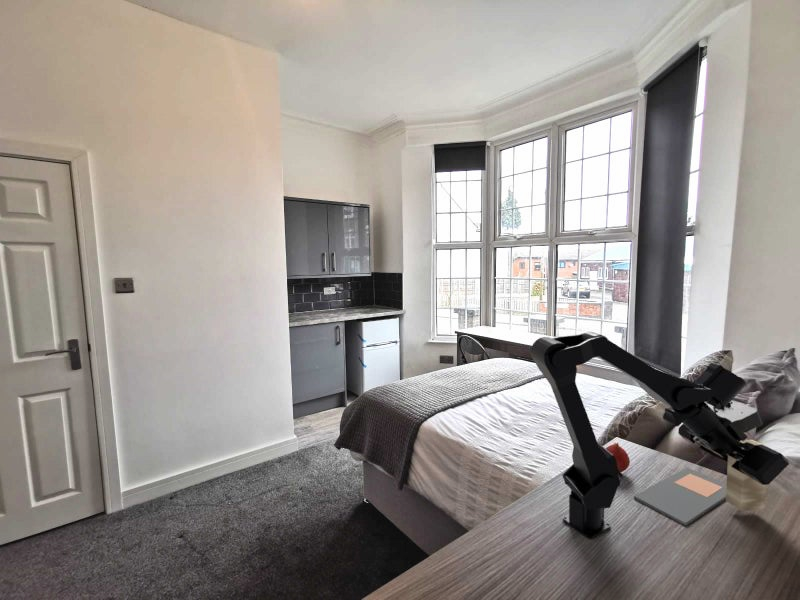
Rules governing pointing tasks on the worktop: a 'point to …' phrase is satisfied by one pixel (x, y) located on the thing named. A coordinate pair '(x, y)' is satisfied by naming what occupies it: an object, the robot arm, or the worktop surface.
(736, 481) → the cream block
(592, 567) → the worktop surface
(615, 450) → the onion
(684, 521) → the mat
